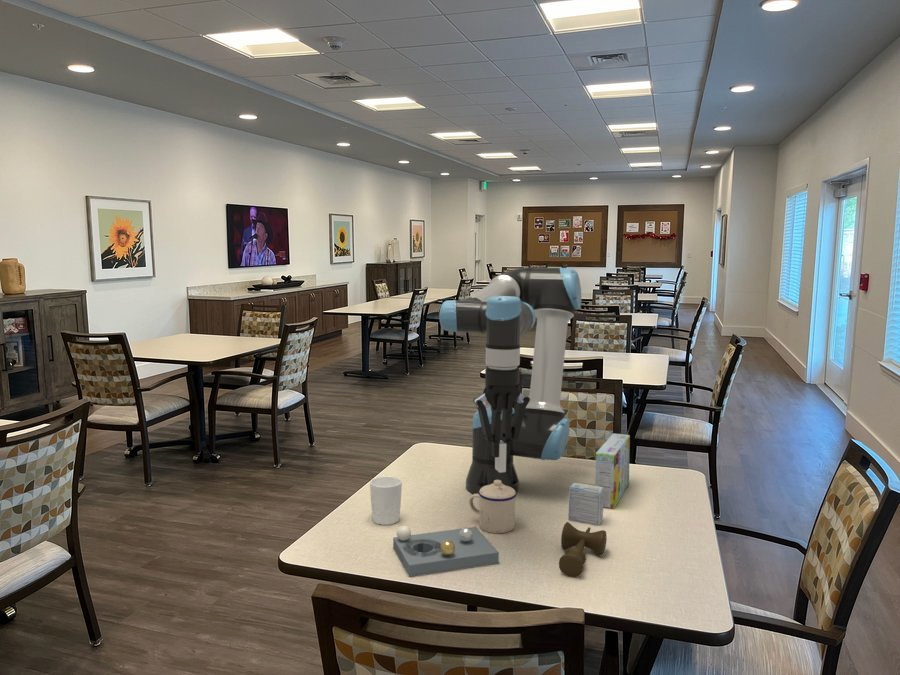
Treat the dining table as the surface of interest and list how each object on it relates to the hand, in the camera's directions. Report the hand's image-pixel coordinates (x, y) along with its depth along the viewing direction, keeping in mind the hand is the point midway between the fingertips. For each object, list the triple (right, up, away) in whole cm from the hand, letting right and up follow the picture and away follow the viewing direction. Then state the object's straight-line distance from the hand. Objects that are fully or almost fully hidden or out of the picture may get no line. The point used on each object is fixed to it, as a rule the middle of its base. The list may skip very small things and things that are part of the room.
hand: (500, 470), depth 146 cm
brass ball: (-12, -15, -7) cm, 20 cm away
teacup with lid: (-1, -17, +15) cm, 22 cm away
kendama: (+17, -19, -2) cm, 26 cm away
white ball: (-22, -14, 0) cm, 26 cm away
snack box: (+34, -14, +36) cm, 51 cm away
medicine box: (+23, -17, +18) cm, 34 cm away
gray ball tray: (-12, -19, -2) cm, 22 cm away
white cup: (-27, -16, +17) cm, 36 cm away
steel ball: (-8, -14, -1) cm, 16 cm away
